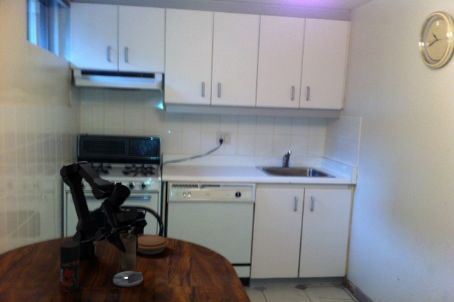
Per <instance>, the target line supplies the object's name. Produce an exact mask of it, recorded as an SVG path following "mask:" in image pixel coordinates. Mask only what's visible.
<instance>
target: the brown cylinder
mask: <svg viewBox="0 0 454 302" xmlns="http://www.w3.org/2000/svg"><path fill="white" fill-rule="evenodd" d="M121 241H122V243H123V245H124V247H125V250H126V252H125V253H123V252H122V251H121V266H120V267H121V270H123V271H133V270H134V269H136V263H137V262H136V261H137V260H136V259H137V250H136V236H135V235H132V234H129V233H128V234H124V235H123V236H122V238H121Z"/></svg>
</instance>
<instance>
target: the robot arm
mask: <svg viewBox="0 0 454 302" xmlns="http://www.w3.org/2000/svg"><path fill="white" fill-rule="evenodd" d="M59 174H60V177H61V180H62V182H63V183H64V184H65V185H66V186H67V187H68V188H69V192H70V195H71V198H72V202H73V205H74V210H75V213H76V217H77V223H76V227H75V233H74V234H73V235H72V241H76V242H79V243H80V247H79V260H92V259H94V258H95V255H96V246H97V245H96V243H100V242H103V241H105V242H106V243H110V244H111V245H112V246H114V247H115V248H116V249H118V251H120V252H121V253H122V252H123V253H125V252H126V250H125V247H124V245H123V243H122V238H121V236H120V235H121V233H124V232H128V235H129V234H132V235H135V236H136V251H137V249H138V238H139V236H138V234H139V233H141V232H142V231H143V230H144V229H145V227H147V226H148V222H147V220H146V219H145V218H139V219H137V217H138V216H139V215H140V213H139V210H138V208H137V207H136V206H134V207H131V208H130V209H129V210H127V211H126V210H125V209H122V207H121V206H123V205H124V203H126V201H127V200H128V199H129V198H130V196H131V193H132V191H131V189H130V188H129V187H128V186H126V185H125V184H123V182H122V181H119V182H116V183H115V184H114V183H112V182H111V181H109V180H107V179H106V178H102V177H101V176H100V175H99V174H98V173H97V172H96V171H95V170H94V169H93V168H92V166H90V164H89V162H88V161H86V160H83V161H76V162H74V163H71V164H69V165H68V164H65V165H62V167H61V168H60V169H59ZM83 180H84V181H85V182H86V183H87V184H88V185H89V186H90V187H91V194H92V195H93V197H94V199H96V200H97V201H98V200H99V201H101V200H103V201H102V202H101V204H100V207H99V210H103V211H104V213H105V215H106V218H107V219H106V220H105V221H106V223H107V224H110V225H107V226H102V227H100V224H99V221H98V219H97V218H96V217H92V216H91V211H90V208H89V205H88V201H87V198H86V194H85V191H84V187H83V185H82V182H83ZM132 220H134V221H133V222H132ZM131 222H132V224H131ZM105 239H106V240H105ZM95 242H96V243H95Z"/></svg>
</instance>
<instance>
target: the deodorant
mask: <svg viewBox="0 0 454 302" xmlns="http://www.w3.org/2000/svg"><path fill="white" fill-rule="evenodd" d="M79 247H80V243H79V242H76V241H73V240H70V241H69V240H68V241H64V242H62V243H60V245H59V253H60V254H59V290H60V291H61V292H64V293H67V292H68V293H69V292H73V291H74V292H75V291H76V290H78V289H79V287H80V259H79Z"/></svg>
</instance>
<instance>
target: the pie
mask: <svg viewBox="0 0 454 302" xmlns="http://www.w3.org/2000/svg"><path fill="white" fill-rule="evenodd" d="M169 243H170V242H169V240H168V239H167V238H166V237H163V236H160V235H155V234H154V235H153V234H148V235H142V236H138V249H137V250H136V252H138V253H139V254H143V255H149V256H150V255H157V254H161V253H162V252H164V250H165V249H166V248H167V246H168V245H169Z"/></svg>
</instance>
